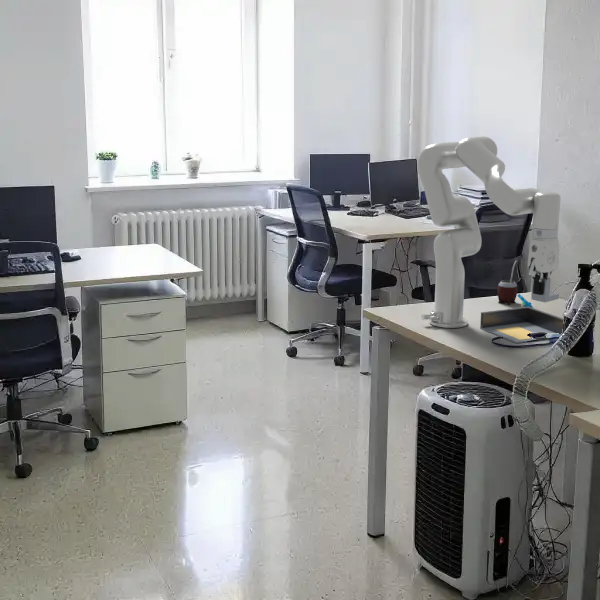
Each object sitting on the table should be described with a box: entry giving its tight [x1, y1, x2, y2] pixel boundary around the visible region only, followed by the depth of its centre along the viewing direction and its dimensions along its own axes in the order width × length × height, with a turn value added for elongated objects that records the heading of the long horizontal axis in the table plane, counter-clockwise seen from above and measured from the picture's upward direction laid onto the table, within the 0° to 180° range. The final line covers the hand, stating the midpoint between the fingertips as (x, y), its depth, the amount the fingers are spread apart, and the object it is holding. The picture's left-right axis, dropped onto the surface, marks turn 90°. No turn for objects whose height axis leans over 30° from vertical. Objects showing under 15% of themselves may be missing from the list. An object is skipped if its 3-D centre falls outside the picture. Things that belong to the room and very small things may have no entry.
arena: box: [479, 306, 565, 344], centre depth 293 cm, size 19×19×6 cm
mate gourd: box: [497, 260, 519, 306], centre depth 331 cm, size 8×8×15 cm
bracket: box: [530, 277, 560, 303], centre depth 276 cm, size 7×5×7 cm
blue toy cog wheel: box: [517, 293, 534, 308], centre depth 315 cm, size 11×6×10 cm
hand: (540, 293), depth 275 cm, fingers closed on bracket
